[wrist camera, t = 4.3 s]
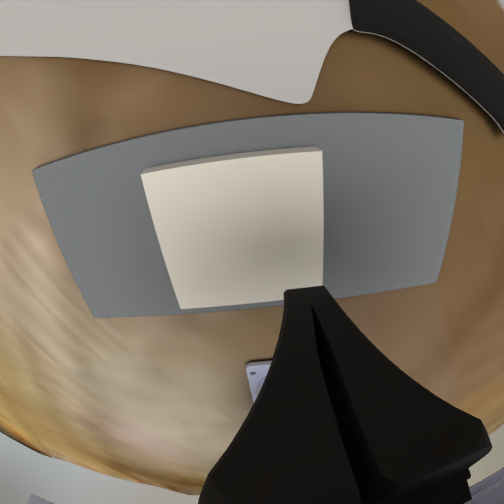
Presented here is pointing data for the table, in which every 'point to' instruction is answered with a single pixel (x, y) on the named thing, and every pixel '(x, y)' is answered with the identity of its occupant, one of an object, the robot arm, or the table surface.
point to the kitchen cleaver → (244, 40)
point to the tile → (239, 224)
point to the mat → (258, 139)
